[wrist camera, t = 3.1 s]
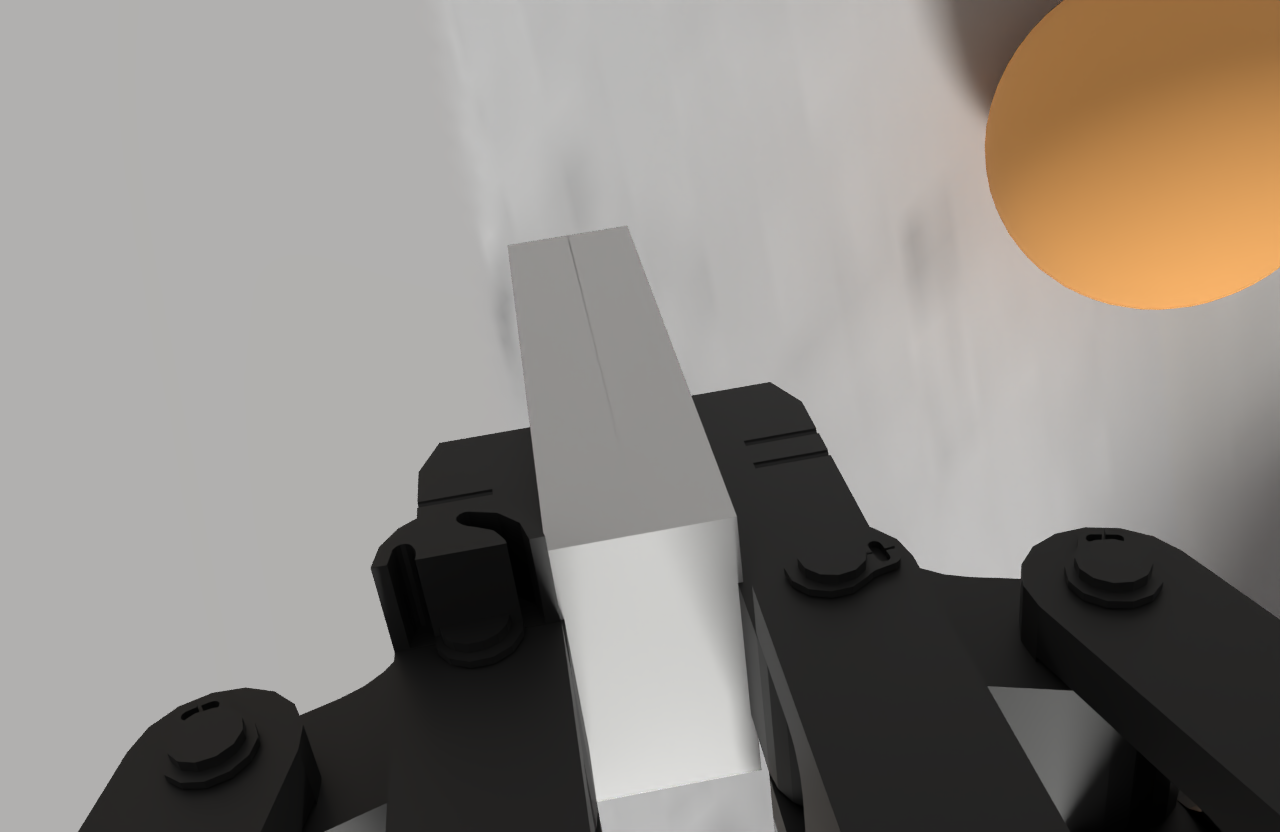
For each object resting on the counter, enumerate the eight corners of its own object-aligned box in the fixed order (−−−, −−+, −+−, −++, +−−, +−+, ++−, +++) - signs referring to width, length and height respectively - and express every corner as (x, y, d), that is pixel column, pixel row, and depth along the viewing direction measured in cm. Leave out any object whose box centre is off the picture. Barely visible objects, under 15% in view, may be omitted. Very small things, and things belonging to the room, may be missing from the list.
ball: (1249, -85, 21) (1482, -38, 16) (1214, 216, 24) (1405, 335, 19) (938, -39, 21) (1081, 24, 16) (938, 261, 23) (1060, 393, 19)
